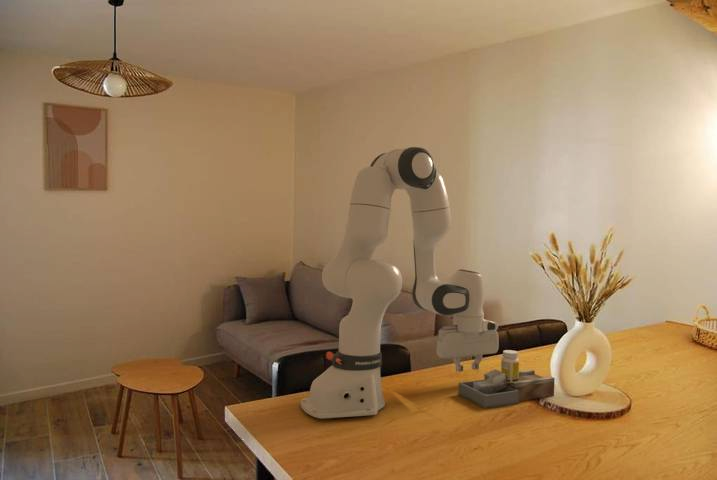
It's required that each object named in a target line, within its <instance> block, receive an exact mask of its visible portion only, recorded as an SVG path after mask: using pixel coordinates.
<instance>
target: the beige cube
mask: <svg viewBox="0 0 717 480" xmlns="http://www.w3.org/2000/svg"><path fill="white" fill-rule="evenodd" d="M473 389H475V390H477V391H479V392H481V393H483V394H485V395H488V394H494V384H491V383H489V382H487V381H480V382H473Z"/></svg>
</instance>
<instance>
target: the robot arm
mask: <svg viewBox="0 0 717 480" xmlns="http://www.w3.org/2000/svg"><path fill="white" fill-rule="evenodd" d="M395 190H405V191H406V193H407V195H408V196H409V204H410V211H411V219H412V228H413V231H412V232H413V257H414V258H413V259H414V283H413V287H412V290H411V291H412V292H411V295H412V297H411V298H412V301H413V303H414V304H415V306H416V307H417V308H419V309H420V310H423V311H428V312H431V313H434V314H437V315H439V316H449V315H453V321H452V322H453V325H443V326H442V327H441V328H440V329H439V330H438V334H437V337H438V338H437V342H436V343H437V344H436V354H437V357H439V358H441V359H444V360H446V359H452V361H453V364H454V365H455V371H456V372H457V373H459V372H464V365H461V363H460V361H461V359H462V358H465V357H475V358H474V361H473V362H471V368H470V369H472V370H473V371H478V370H479V369H480V364H481V362H482V360H483V355H492V354H496V353H497V352H498V350H499V347H500V346H499V342H500V341H499V339H500V338H499V333H498V331H497V330H498V328H499V324H498V322H494V321H491V320H489V319H487V318H485V313H484V308H483V307H484V303H485V281H484V278H483V275H482V274H481V273H479V272H477V271H474V270H467V269H464V268H463V269H457V271H456V272H455V273H454V274H452V275H451V276H449V277H447V278H445V279H441V280H440V279H439V278H438V276H437V271H436V270H437V269H436V253H435V252H436V246H437V244H439V242H440V241H441V240H442V239H443V238H445V236H446V235H447V234H448V233H449V232H450V229H451V224H452V215H451V207H450V201H449V195H448V191H447V187H446V183H445V181H444V178H443V177H442V175H441V173H438V171H437V168H436V164H435V161H434V158H433V157H432V154H431V153H430V152H429V151H428V150H427V149H425V148H424V147H423V148H422V147H420V146H419V147H418V146H410V147H406V148H396V149H393V150H390V151H386V152H383V153H381V154H379V155H377V157H375V158H374V159H373V160H372V162H371V164H370V166H367V167H364V168H362V169H359V171H358V172H357V175H356V177H355V181H354V183H353V186H352V191H351V195H350V202H349V208H348V214H347V220H346V221H347V222H346V226H345V232H344V235H343V236H344V237H343V238H342V241H341V244H340V245H339V248H338V250H337V252H336V253H335V254H334V256H333V257H332V258H331V259H330V260H329V261H327V263H325V265H324V267H323V269H322V273H321V280H322V284H323V287H324V288H325V289H326V290H327V291H329V292H330V293H332V294H334V295H336V296H338V297H340V298H346V299H352V304H351V308H350V310H349V312H348V314H347V315H345V316H344V317H343V318H341V320H340V322H339V325H338V326H339V329H338V330H339V331H338V350H337V351H336V352H335V353H333V352H332V351H327V352H326V353H325V354H326V355H325V358H326V359H327V360H329V361H331V366H329V367H328V368H327V369H326V370H325V371H324V372H322V373H321V374H320V375H319V376H317V377H316V378H315V379H314V380H313V381H312V383H311V385H310V389H309V395H308V397H307V396H306V397H304V398H302V399H301V400H300V407H301V409H302V410H303V411H304V412H305V413H306V414H308V415H310V416H311V417H314V418H317V419H334V418H346V417H347V418H350V417H363V416H374V415H377V414H378V412H379V411H380V410H381V409H383V408H385V406H386V400H385V398H384V394H383V388H382V386H383V385H382V378H381V377H382V376H381V372H382V364H383V363H382V360H383V359H382V358H383V357H382V351H381V336H382V335H381V334H382V333H381V332H382V324H383V323H382V322H383V319H384V316H385V313H386V311H387V309H388V308H389V306H390V304H391V303H392V302H394V301H395V300H396V299H397V298H398V297H399V295H400V294H401V291H402V290H403V289H402V288H403V276H402V275H403V274H402V273H401V271H400V269H399V267H398V268H397V266H396V265H393V264H391V263H388V262H386V261H383V260H378V259H377V260H375V259H372V256H373V255H374V253H375V250H376V249H377V248H378V247H379V246H380V245H381V244H384V242H385V241H386V239H387V237H388V232H389V223H390V217H391V209H392V208H391V207H392V197H393V195H394V192H395Z"/></svg>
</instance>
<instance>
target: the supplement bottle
mask: <svg viewBox="0 0 717 480" xmlns="http://www.w3.org/2000/svg"><path fill="white" fill-rule="evenodd" d="M502 351H503V352H502V357H501V360H500V361H501V362H500V365H501V367H500V368H501V370H500V371H501V372H503V373H505V378H506V383H511V384H512V382H517V381H519V371H520V359H519V358H518V357H519V352H518V351H517V350H512V349H505V350H502Z"/></svg>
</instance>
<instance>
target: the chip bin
mask: <svg viewBox="0 0 717 480" xmlns="http://www.w3.org/2000/svg"><path fill="white" fill-rule="evenodd" d="M480 381H485V378H484V379H476V380H470V381H461V382H458V389H457V390H458V396H460V397H461V398H463V399H465V400H468V401H470V402H472V403H474V404H475V405H478V406H479V407H481V408H483V409H484V410H485V409H493V408H498V407H504V406H511V405H517V404H520V403H519V402H520V401H519V391H518V390H516V389H513V388H511V387H509V386H507V387H505V388H503V389H501V390H499V391H497V392H495V391H494V394H488V395H485V394H483V393H481V392H479V391H477V390H475V389H473V382H480Z"/></svg>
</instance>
